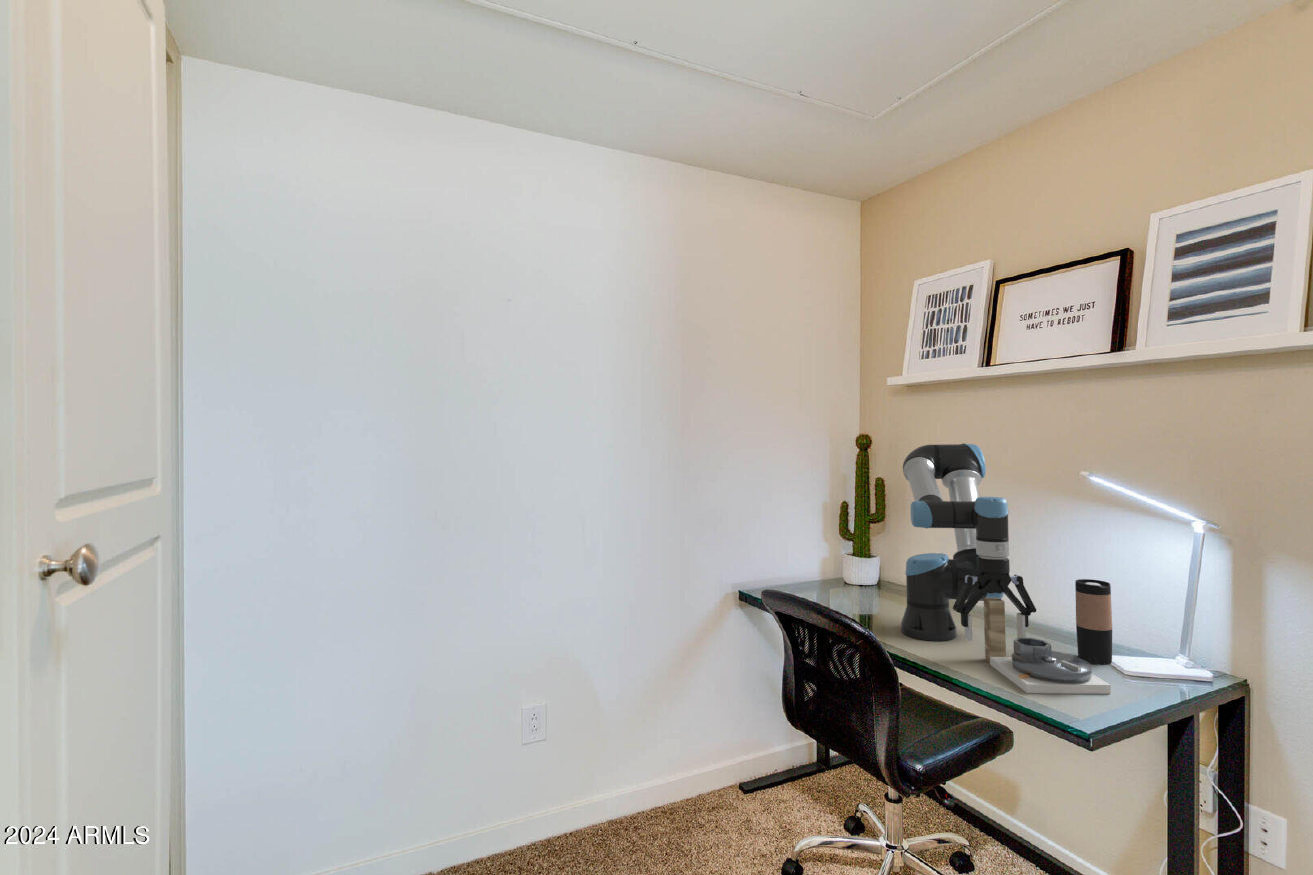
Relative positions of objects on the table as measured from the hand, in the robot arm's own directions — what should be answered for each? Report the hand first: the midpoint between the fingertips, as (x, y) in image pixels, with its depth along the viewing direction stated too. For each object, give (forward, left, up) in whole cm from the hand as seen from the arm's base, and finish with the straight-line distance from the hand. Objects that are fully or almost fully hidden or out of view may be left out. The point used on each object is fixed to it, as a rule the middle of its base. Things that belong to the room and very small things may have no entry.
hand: (994, 639), depth 159 cm
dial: (+12, +7, -3) cm, 14 cm away
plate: (+11, +7, -6) cm, 14 cm away
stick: (0, 0, -6) cm, 6 cm away
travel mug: (-2, +26, -6) cm, 26 cm away
